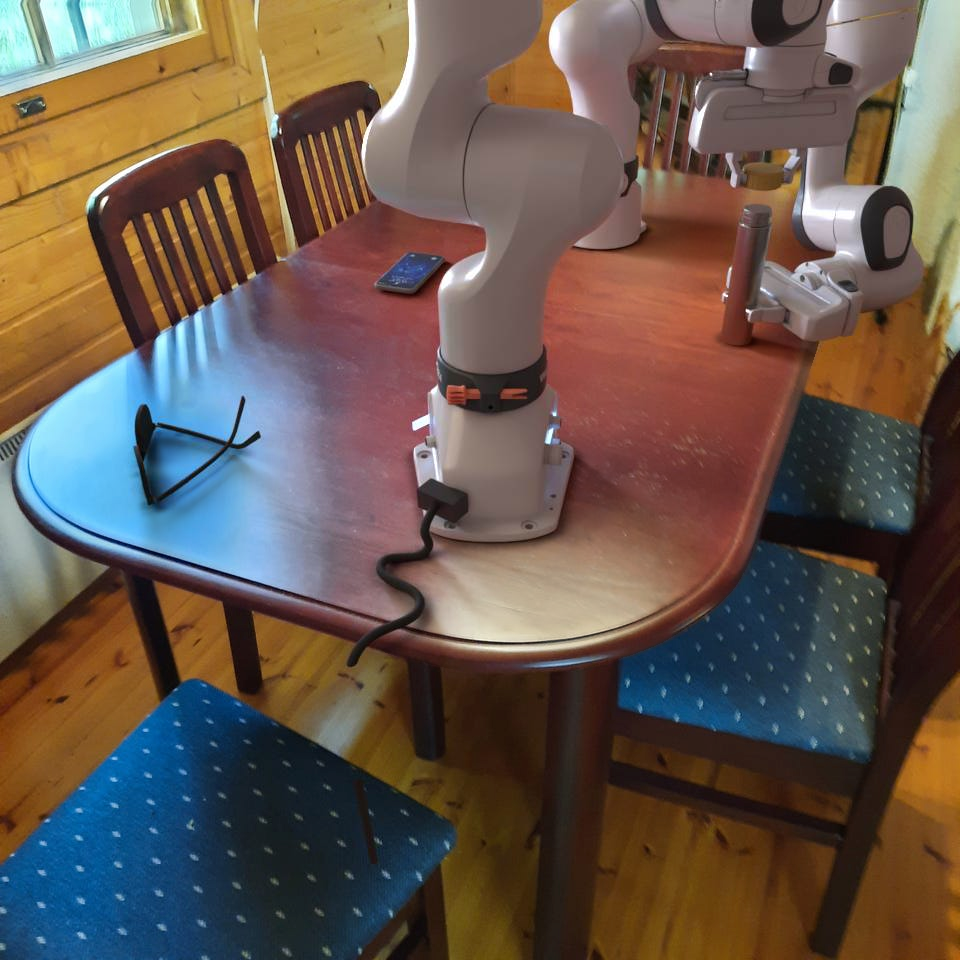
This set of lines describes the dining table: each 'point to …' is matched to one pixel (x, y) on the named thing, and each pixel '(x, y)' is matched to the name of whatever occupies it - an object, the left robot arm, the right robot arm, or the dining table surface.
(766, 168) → the lid
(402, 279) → the smartphone
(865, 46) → the right robot arm
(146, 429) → the sunglasses
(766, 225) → the grey metal cylinder
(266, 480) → the dining table surface
